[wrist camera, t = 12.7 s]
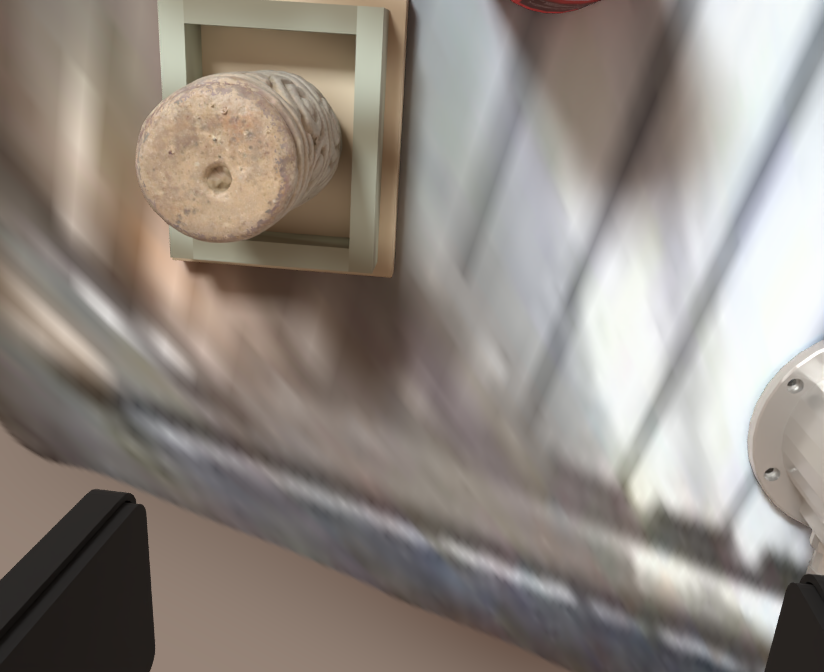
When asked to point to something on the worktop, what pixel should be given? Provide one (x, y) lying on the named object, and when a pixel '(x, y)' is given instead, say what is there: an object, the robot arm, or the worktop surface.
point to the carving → (236, 153)
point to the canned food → (554, 5)
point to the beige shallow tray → (348, 97)
